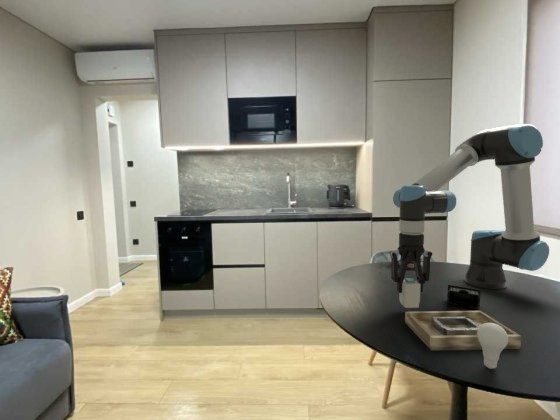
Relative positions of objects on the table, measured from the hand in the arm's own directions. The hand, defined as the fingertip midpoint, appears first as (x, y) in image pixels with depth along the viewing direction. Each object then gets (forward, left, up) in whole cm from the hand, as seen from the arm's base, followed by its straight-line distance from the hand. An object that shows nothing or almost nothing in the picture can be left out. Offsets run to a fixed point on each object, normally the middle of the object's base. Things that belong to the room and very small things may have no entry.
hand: (409, 301), depth 105 cm
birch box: (-8, +15, -4) cm, 17 cm away
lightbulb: (-6, +31, -4) cm, 32 cm away
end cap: (-22, -5, -4) cm, 22 cm away
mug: (-26, -55, -4) cm, 61 cm away
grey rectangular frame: (-8, +14, -4) cm, 17 cm away
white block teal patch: (0, 0, -1) cm, 1 cm away
